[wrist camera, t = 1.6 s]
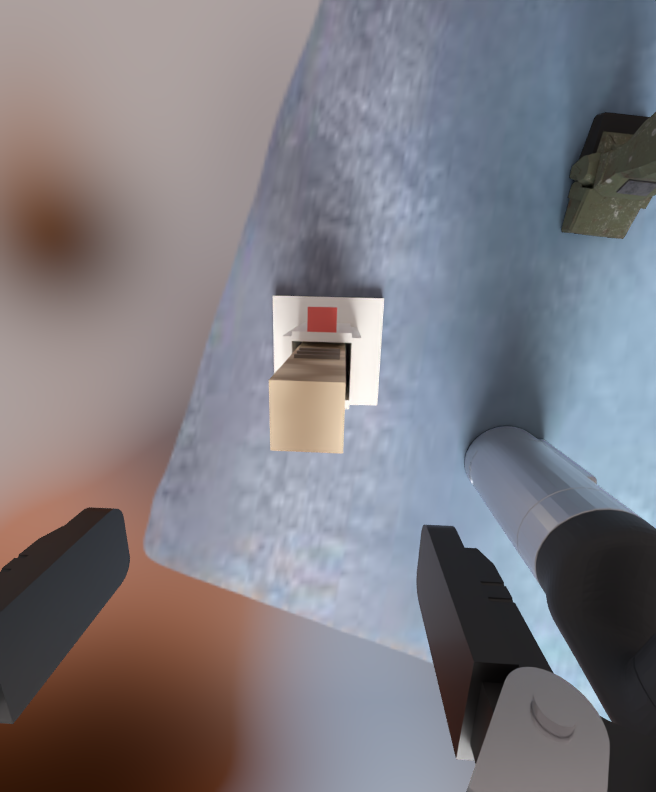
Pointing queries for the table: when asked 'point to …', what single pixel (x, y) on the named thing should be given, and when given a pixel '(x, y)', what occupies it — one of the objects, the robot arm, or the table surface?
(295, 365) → the post
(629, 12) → the table surface
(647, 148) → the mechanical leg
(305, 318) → the sleeve stand
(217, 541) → the table surface
